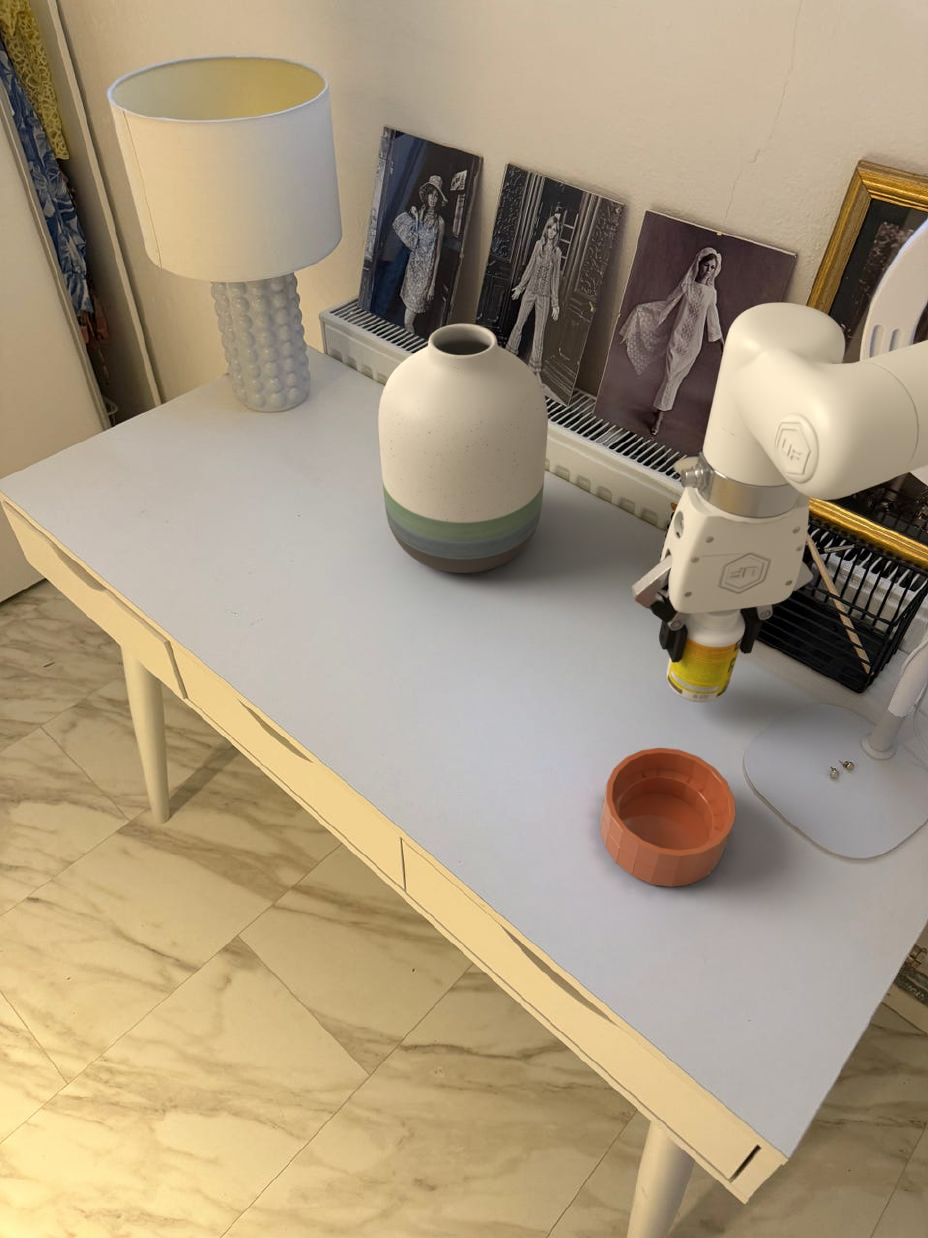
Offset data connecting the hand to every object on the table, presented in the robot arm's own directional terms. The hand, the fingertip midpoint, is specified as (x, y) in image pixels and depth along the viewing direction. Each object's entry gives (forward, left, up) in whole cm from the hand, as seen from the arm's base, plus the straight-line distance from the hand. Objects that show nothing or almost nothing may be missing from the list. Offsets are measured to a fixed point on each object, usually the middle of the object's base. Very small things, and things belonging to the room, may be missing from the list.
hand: (706, 644), depth 81 cm
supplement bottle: (0, 0, -5) cm, 5 cm away
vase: (+27, +17, -8) cm, 33 cm away
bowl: (-13, +7, -8) cm, 17 cm away
